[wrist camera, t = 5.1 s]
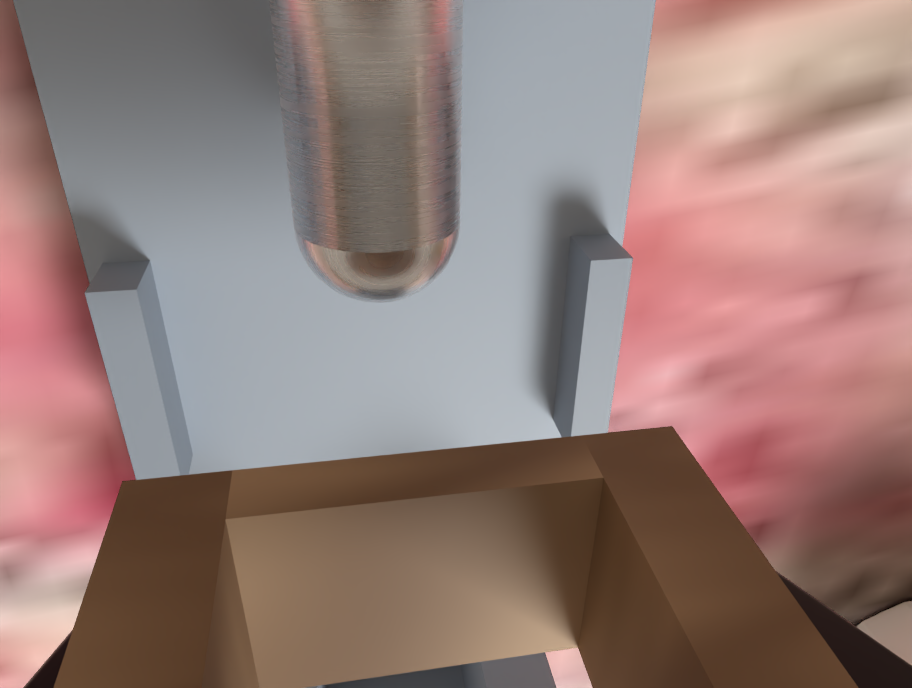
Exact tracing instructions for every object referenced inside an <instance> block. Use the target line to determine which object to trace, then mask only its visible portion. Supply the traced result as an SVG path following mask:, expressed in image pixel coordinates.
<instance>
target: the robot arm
mask: <svg viewBox="0 0 912 688" xmlns="http://www.w3.org/2000/svg"><path fill="white" fill-rule="evenodd" d="M776 573H777V574H778V576H779V577H780V578H781V580H782V581H783V583H784V584H785V585H786V587H787V588H788V590H789V591H790V592H791V594H792V595H793V597H794V598H795V599H796V601H797V602H798V604H799V605H800V606H801V608H802V609H803V611H804V612H805V613H806V615H807V616H808V618H809V619H810V620H811V622H812V623H813V625H814V626H815V627H816V629H817V630H818V632H819V633H820V634H821V636H822V637H823V639H824V640H825V641H826V643H827V644H828V646H829V647H830V648H831V650H832V651H833V653H834V654H835V655H836V657H837V658H838V660H839V661H840V662H841V664H842V665H843V667H844V668H845V669H846V671H847V672H848V674H849V675H850V676H851V678H852V679H853V681H854V682H855V683H856V685H857V686H858V688H912V665H911V664H909V663H908V662H906V661H905V660H903V659H902V658H900V657H899V656H898V655H896V654H895V653H893V652H892V651H890V650H889V649H887V648H886V647H885V646H883V645H882V644H880V643H879V642H877V641H876V640H874V639H873V638H872V637H870V636H869V635H867V634H866V633H864V632H863V631H862V630H860V629H859V628H857V627H856V626H854V625H853V624H851V623H850V622H849V621H847V620H846V619H844V618H843V617H841V616H840V615H838V614H837V613H836V612H834V611H833V610H831V609H830V608H828V607H827V606H826V605H824V604H823V603H821V602H820V601H818V600H817V599H815V598H814V597H813V596H811V595H810V594H808V593H807V592H805V591H804V590H802V589H801V588H800V587H798V586H797V585H795V584H794V583H792V582H791V581H789V580H788V579H787V578H785V577H784V576H782V575H781V574H779V573H778V572H777V571H776ZM72 631H73V630H72ZM72 631H71V632H70V634H69V635H68V636H67V637H66V638H65V640H64V641H63V642H62V643H61V644H60V645H59V647H58V648H57V649H56V650H55V651H54V652H53V654H52V655H51V656H50V657H49V658H48V659H47V661H46V662H45V663H44V664H43V665H42V666H41V668H40V669H39V670H38V671H37V672H36V673H35V675H34V676H33V677H32V678H31V679H30V681H29V682H28V683H27V684H26V685H25V686H24V688H54V685H55V682H56V679H57V676H58V673H59V670H60V667H61V664H62V661H63V658H64V655H65V652H66V649H67V646H68V643H69V640H70V637H71V634H72Z"/></svg>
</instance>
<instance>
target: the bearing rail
mask: <svg viewBox="0 0 912 688" xmlns="http://www.w3.org/2000/svg"><path fill="white" fill-rule="evenodd" d="M13 2H14V6H15V10H16V13H17V17H18V21H19V24H20V28H21V32H22V36H23V39H24V43H25V47H26V50H27V54H28V58H29V61H30V65H31V69H32V72H33V76H34V80H35V84H36V87H37V91H38V95H39V98H40V102H41V106H42V109H43V113H44V117H45V121H46V124H47V128H48V132H49V135H50V139H51V143H52V146H53V150H54V154H55V158H56V161H57V165H58V169H59V172H60V176H61V180H62V183H63V187H64V191H65V194H66V198H67V202H68V206H69V209H70V213H71V217H72V220H73V224H74V228H75V231H76V235H77V239H78V243H79V246H80V250H81V254H82V257H83V261H84V265H85V268H86V272H87V276H88V279H89V283H90V285H89V286H88V288H87V290H86V291H85V296H86V300H87V304H88V307H89V311H90V314H91V318H92V322H93V325H94V329H95V333H96V336H97V340H98V343H99V347H100V351H101V354H102V358H103V361H104V365H105V369H106V372H107V376H108V380H109V383H110V387H111V390H112V394H113V398H114V401H115V405H116V408H117V412H118V416H119V419H120V423H121V427H122V430H123V434H124V437H125V441H126V445H127V448H128V452H129V456H130V459H131V463H132V466H133V470H134V474H135V477H136V480H140V479H150V478H160V477H170V476H180V475H190V474H200V473H210V472H220V471H230V470H240V469H250V468H260V467H270V466H280V465H290V464H300V463H310V462H320V461H330V460H340V459H350V458H360V457H370V456H380V455H390V454H400V453H410V452H420V451H430V450H440V449H450V448H460V447H470V446H480V445H490V444H500V443H510V442H520V441H530V440H540V439H550V438H560V437H570V436H580V435H590V434H600V433H608V426H609V419H610V412H611V406H612V399H613V392H614V385H615V378H616V371H617V364H618V357H619V350H620V344H621V337H622V330H623V323H624V316H625V309H626V302H627V295H628V289H629V282H630V275H631V268H632V261H633V258H632V257H631V256H630V255H629V253H628V252H627V251H626V250H625V249H624V248H623V247H622V244H623V237H624V230H625V222H626V215H627V208H628V200H629V193H630V186H631V178H632V171H633V163H634V156H635V149H636V141H637V134H638V127H639V119H640V112H641V105H642V97H643V90H644V83H645V75H646V68H647V61H648V53H649V46H650V38H651V31H652V24H653V16H654V9H655V2H656V0H463V52H462V122H461V192H460V229H459V236H458V241H457V245H456V247H455V250H454V253H453V255H452V257H451V259H450V261H449V263H448V265H447V266H446V267H445V269H444V270H443V272H442V273H441V274H440V275H439V276H438V277H437V279H436V280H434V281H433V282H432V283H431V284H430V285H429V286H427V287H426V288H424V289H423V290H421V291H420V292H418V293H416V294H414V295H412V296H410V297H407V298H404V299H401V300H397V301H393V302H385V303H372V302H363V301H359V300H355V299H352V298H349V297H346V296H344V295H342V294H340V293H338V292H336V291H334V290H333V289H332V288H330V287H329V286H327V285H326V284H325V283H324V282H322V281H321V280H320V279H319V278H318V277H317V276H316V275H315V274H314V272H313V271H312V270H311V269H310V267H309V266H308V264H307V263H306V261H305V259H304V258H303V256H302V254H301V251H300V249H299V247H298V244H297V241H296V236H295V231H294V224H293V215H292V206H291V197H290V187H289V178H288V169H287V160H286V151H285V141H284V132H283V123H282V114H281V104H280V95H279V86H278V77H277V68H276V58H275V49H274V40H273V31H272V21H271V12H270V3H269V0H13ZM306 688H556V685H555V682H554V679H553V676H552V673H551V670H550V667H549V664H548V661H547V657H546V654H545V652H544V653H537V654H530V655H524V656H517V657H510V658H503V659H496V660H490V661H483V662H476V663H469V664H462V665H456V666H449V667H442V668H435V669H428V670H422V671H415V672H408V673H401V674H394V675H388V676H381V677H374V678H367V679H360V680H354V681H347V682H340V683H333V684H326V685H320V686H313V687H306Z"/></svg>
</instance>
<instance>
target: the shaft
mask: <svg viewBox="0 0 912 688" xmlns="http://www.w3.org/2000/svg"><path fill="white" fill-rule="evenodd" d="M269 3H270V12H271V21H272V31H273V40H274V49H275V58H276V68H277V77H278V86H279V95H280V104H281V114H282V123H283V132H284V141H285V151H286V160H287V169H288V178H289V187H290V197H291V206H292V215H293V224H294V231H295V236H296V241H297V244H298V247H299V249H300V251H301V254H302V256H303V258H304V259H305V261H306V263H307V264H308V266H309V267H310V269H311V270H312V271H313V272H314V274H315V275H316V276H317V277H318V278H319V279H320V280H321V281H322V282H324V283H325V284H326V285H327V286H329V287H330V288H332V289H333V290H334V291H336V292H338V293H340V294H342V295H344V296H346V297H349V298H352V299H355V300H359V301H363V302H372V303H385V302H393V301H397V300H401V299H404V298H407V297H410V296H412V295H414V294H416V293H418V292H420V291H421V290H423V289H424V288H426V287H427V286H429V285H430V284H431V283H432V282H433V281H434V280H436V279H437V277H438V276H439V275H440V274H441V273H442V272H443V270H444V269H445V267H446V266H447V265H448V263H449V261H450V259H451V257H452V255H453V253H454V250H455V247H456V245H457V241H458V236H459V229H460V192H461V122H462V52H463V0H269Z"/></svg>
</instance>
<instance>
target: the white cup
mask: <svg viewBox="0 0 912 688" xmlns="http://www.w3.org/2000/svg"><path fill="white" fill-rule="evenodd" d="M856 627H857V628H859V629H860V630H862V631H863V632H864V633H866V634H867V635H869V636H870V637H872V638H873V639H874V640H876V641H877V642H879V643H880V644H882V645H883V646H885V647H886V648H887V649H889V650H890V651H892V652H893V653H895V654H896V655H898V656H899V657H900V658H902V659H903V660H905V661H906V662H908V663H909V664H911V665H912V601H907V602H903V603H901V604H899V605H896V606H894V607H892V608H890V609H887V610H885V611H882V612H880V613H879V614H877V615H875V616H873V617H871V618H869V619H866V620H864V621H863V622H861V623H860V624H858V625H857V626H856Z"/></svg>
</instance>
